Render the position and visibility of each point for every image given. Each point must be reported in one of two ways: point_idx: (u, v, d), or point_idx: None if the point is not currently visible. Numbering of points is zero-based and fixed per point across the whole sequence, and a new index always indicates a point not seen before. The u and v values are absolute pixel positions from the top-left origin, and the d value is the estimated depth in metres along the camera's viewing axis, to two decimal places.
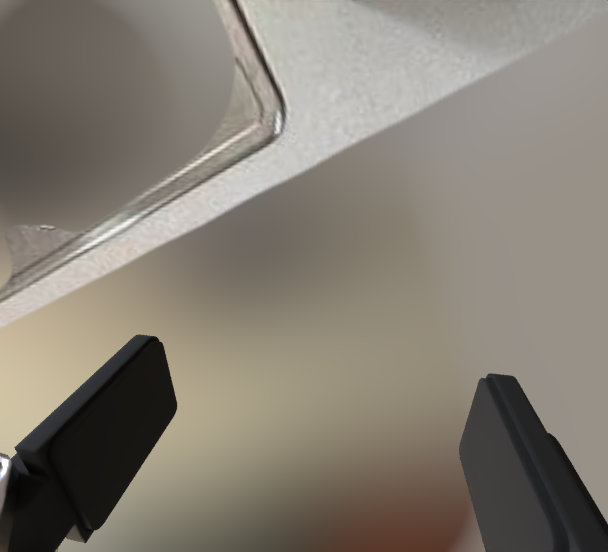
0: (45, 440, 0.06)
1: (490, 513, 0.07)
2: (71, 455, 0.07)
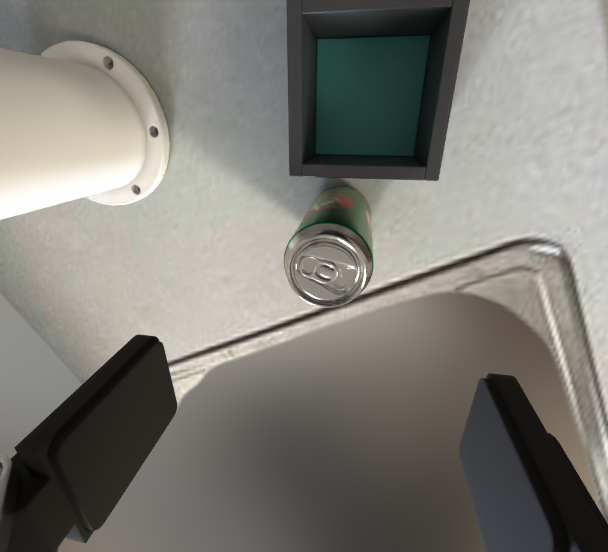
0: (45, 440, 0.06)
1: (490, 513, 0.07)
2: (71, 455, 0.07)
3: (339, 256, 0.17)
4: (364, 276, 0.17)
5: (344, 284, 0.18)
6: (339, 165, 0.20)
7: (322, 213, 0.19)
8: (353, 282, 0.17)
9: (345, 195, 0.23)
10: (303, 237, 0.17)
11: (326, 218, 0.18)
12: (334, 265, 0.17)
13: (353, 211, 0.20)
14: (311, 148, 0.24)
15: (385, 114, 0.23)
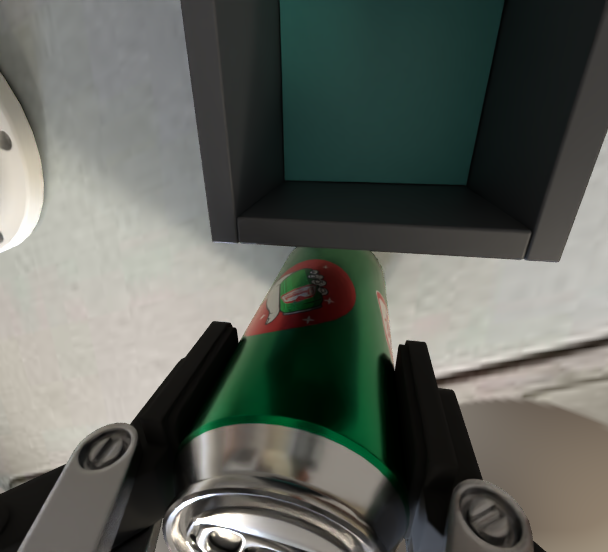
0: (164, 411, 0.07)
1: None
2: (183, 426, 0.07)
3: (308, 543, 0.05)
4: None
5: None
6: (320, 222, 0.09)
7: (275, 351, 0.08)
8: None
9: (338, 265, 0.12)
10: (205, 464, 0.06)
11: (278, 390, 0.06)
12: (298, 550, 0.06)
13: (353, 326, 0.09)
14: (272, 173, 0.12)
15: (415, 106, 0.12)
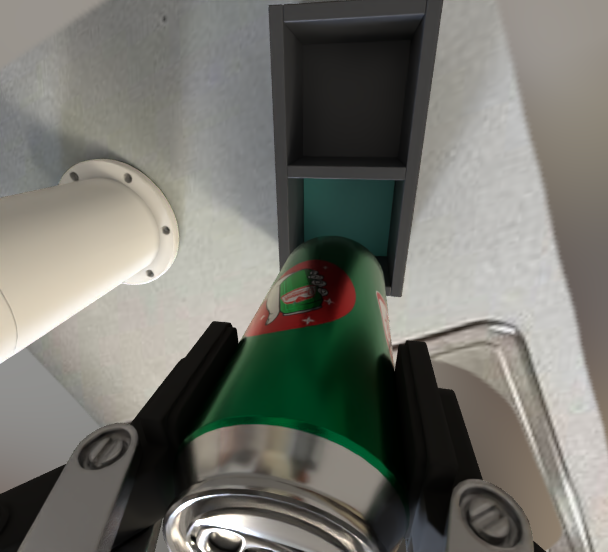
0: (164, 411, 0.07)
1: None
2: (183, 426, 0.07)
3: (308, 543, 0.05)
4: None
5: None
6: None
7: (275, 352, 0.08)
8: None
9: (338, 265, 0.12)
10: (205, 465, 0.06)
11: (278, 391, 0.06)
12: (298, 550, 0.06)
13: (353, 327, 0.09)
14: None
15: (361, 224, 0.28)
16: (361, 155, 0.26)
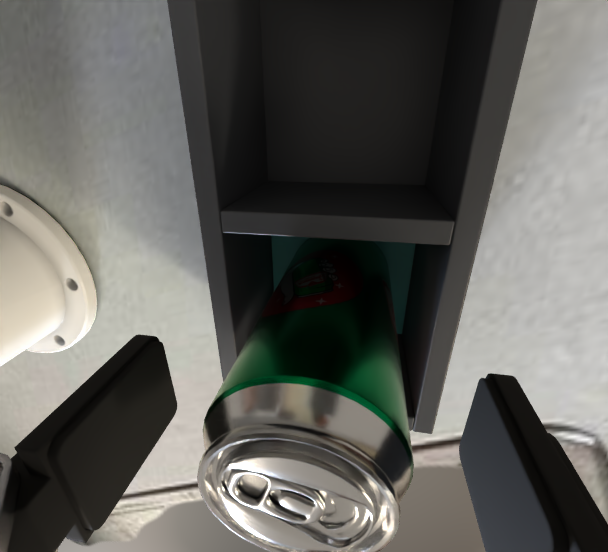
0: (45, 440, 0.06)
1: (490, 513, 0.07)
2: (71, 455, 0.07)
3: (326, 483, 0.06)
4: (394, 526, 0.06)
5: (342, 522, 0.07)
6: None
7: (293, 327, 0.08)
8: (365, 531, 0.07)
9: (346, 255, 0.13)
10: (236, 418, 0.07)
11: (297, 357, 0.07)
12: (316, 492, 0.07)
13: (362, 307, 0.10)
14: None
15: None
16: (363, 181, 0.15)
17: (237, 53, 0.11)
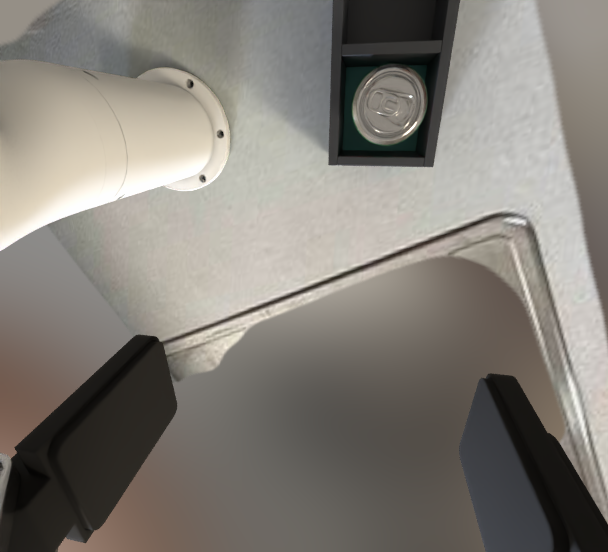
0: (45, 440, 0.06)
1: (490, 513, 0.07)
2: (71, 455, 0.07)
3: (402, 87, 0.21)
4: (422, 105, 0.21)
5: (404, 118, 0.22)
6: (364, 157, 0.29)
7: None
8: (412, 112, 0.21)
9: None
10: (372, 76, 0.21)
11: None
12: (397, 98, 0.21)
13: None
14: (341, 145, 0.32)
15: None
16: None
17: None
